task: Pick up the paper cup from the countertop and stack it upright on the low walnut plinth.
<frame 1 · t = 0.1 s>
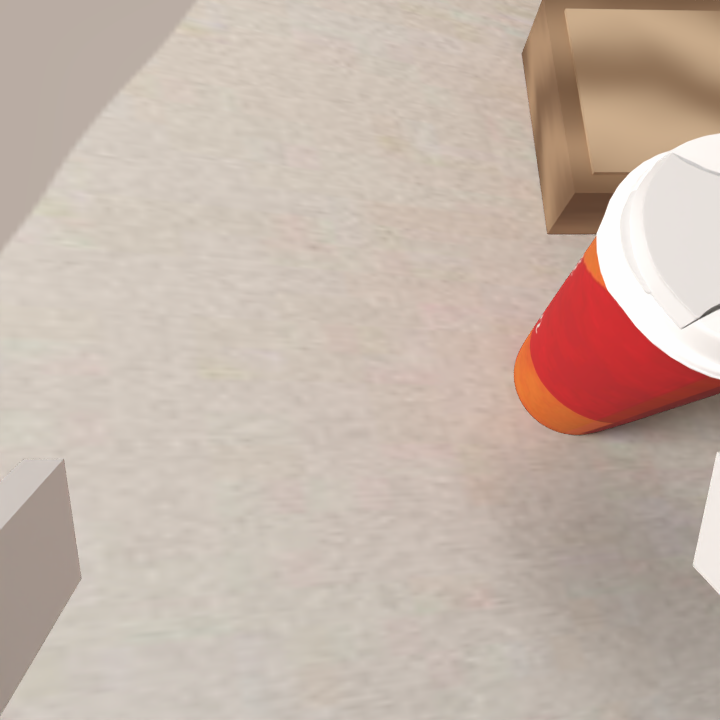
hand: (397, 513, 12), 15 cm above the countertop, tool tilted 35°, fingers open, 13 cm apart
plinth: (638, 139, 34), on the countertop
paper cup: (566, 380, 30), on the countertop
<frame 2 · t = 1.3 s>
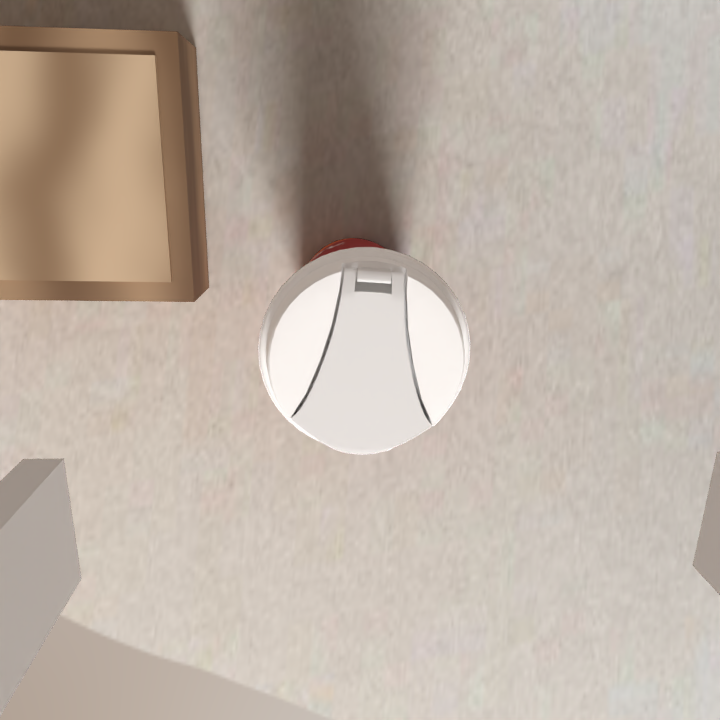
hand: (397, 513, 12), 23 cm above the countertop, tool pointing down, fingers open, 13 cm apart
plinth: (86, 171, 32), on the countertop
paper cup: (352, 288, 34), on the countertop
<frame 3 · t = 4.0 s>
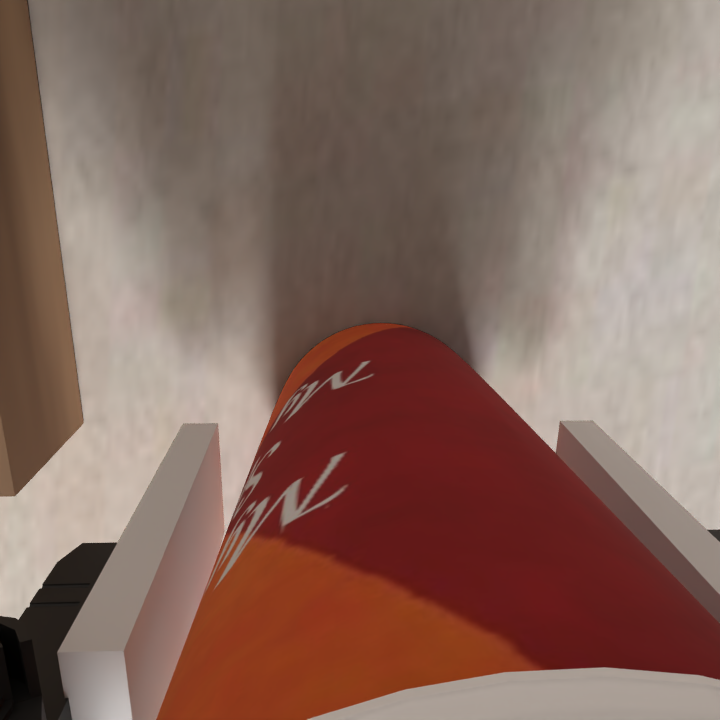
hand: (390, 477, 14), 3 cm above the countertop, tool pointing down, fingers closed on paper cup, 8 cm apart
paper cup: (378, 418, 17), on the countertop, touching gripper
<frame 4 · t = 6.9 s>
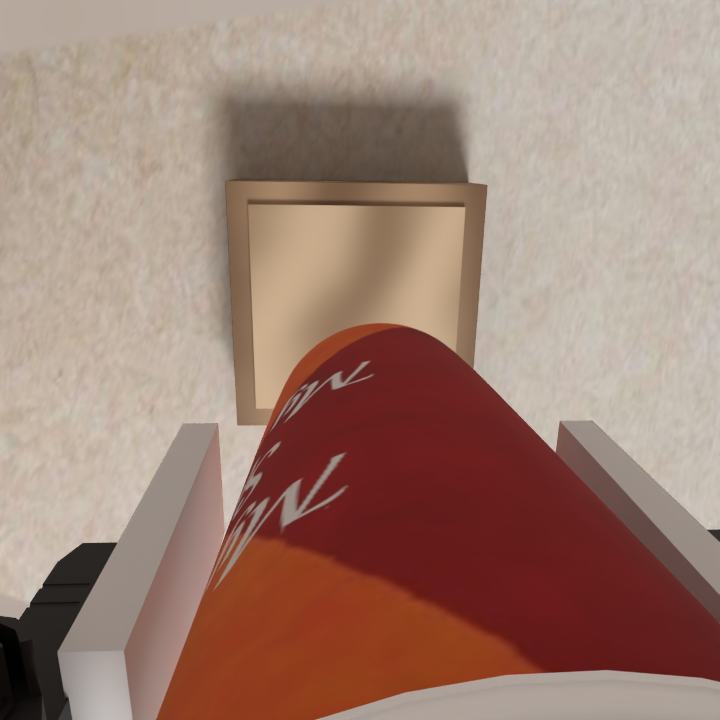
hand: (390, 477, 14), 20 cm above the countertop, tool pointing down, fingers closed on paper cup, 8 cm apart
plinth: (352, 295, 33), on the countertop
paper cup: (378, 418, 17), point 17 cm above the countertop, touching gripper
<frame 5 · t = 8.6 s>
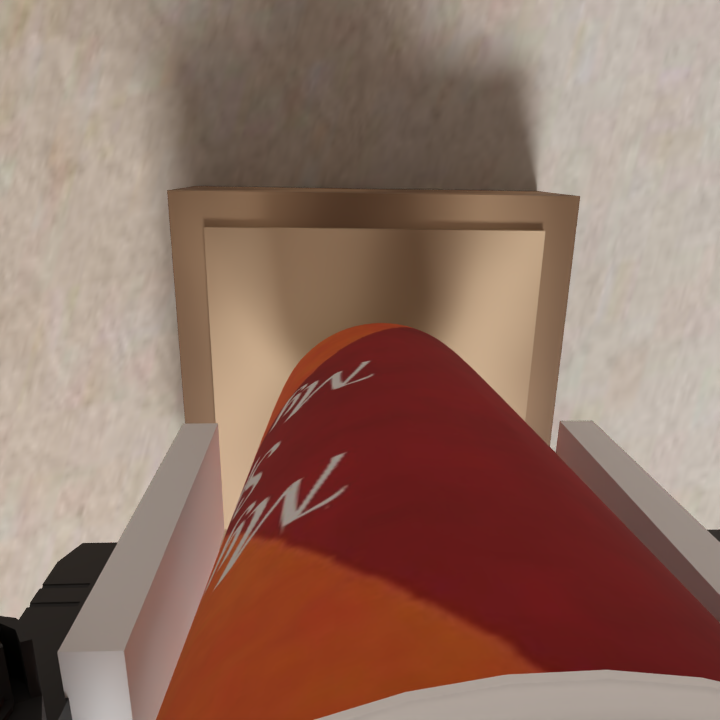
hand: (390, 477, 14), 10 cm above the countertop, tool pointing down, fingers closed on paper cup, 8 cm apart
plinth: (365, 352, 23), on the countertop
paper cup: (378, 418, 17), point 6 cm above the countertop, touching gripper
when the fingers open (9 cm above the countertop, at t = 9.7 s): paper cup drops 1 cm, resting on plinth.
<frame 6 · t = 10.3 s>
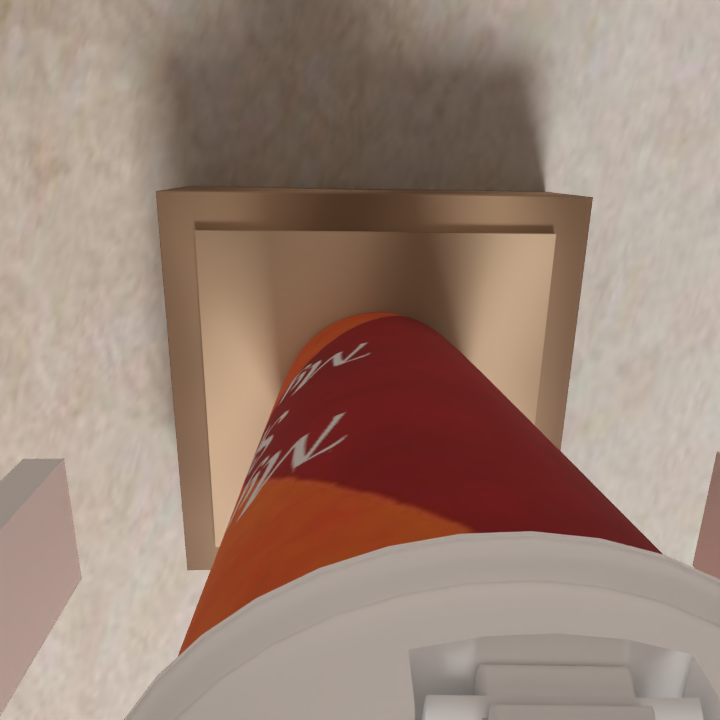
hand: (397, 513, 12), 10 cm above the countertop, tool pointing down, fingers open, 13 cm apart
plinth: (365, 360, 22), on the countertop
paper cup: (375, 400, 18), point 4 cm above the countertop, touching plinth
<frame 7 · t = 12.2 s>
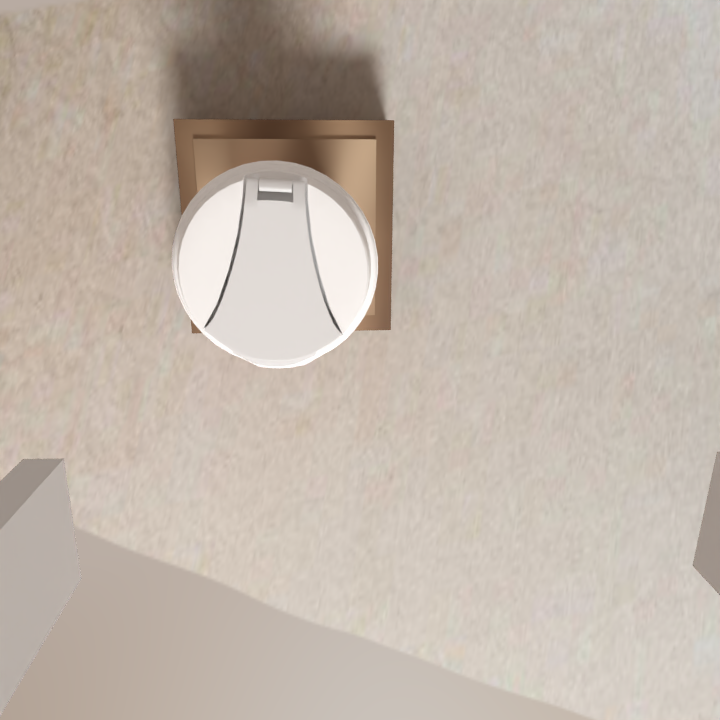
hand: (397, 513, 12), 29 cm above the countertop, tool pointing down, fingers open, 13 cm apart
plinth: (291, 224, 39), on the countertop
paper cup: (289, 232, 35), point 4 cm above the countertop, touching plinth
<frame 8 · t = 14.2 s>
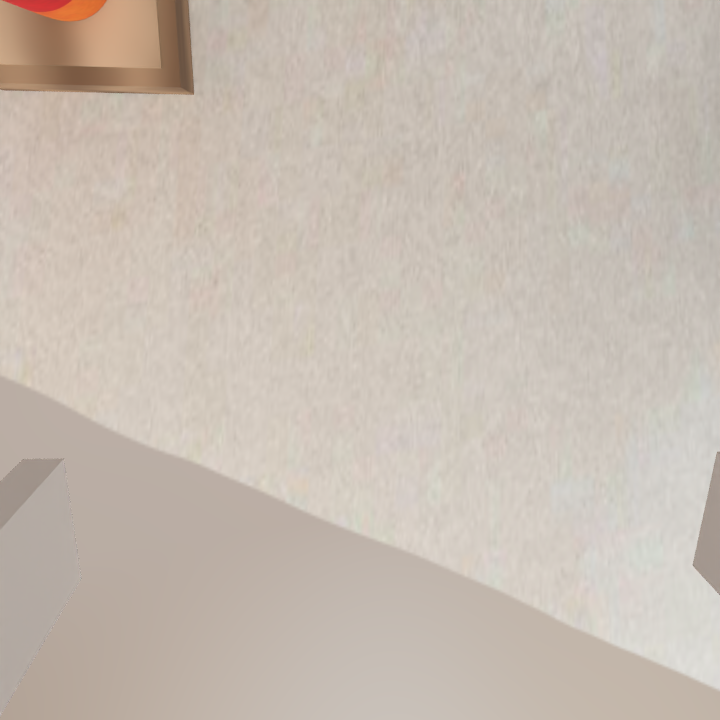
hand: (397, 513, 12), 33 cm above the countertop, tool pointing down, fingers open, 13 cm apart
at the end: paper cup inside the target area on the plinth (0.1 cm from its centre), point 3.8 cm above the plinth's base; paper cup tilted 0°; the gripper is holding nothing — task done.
